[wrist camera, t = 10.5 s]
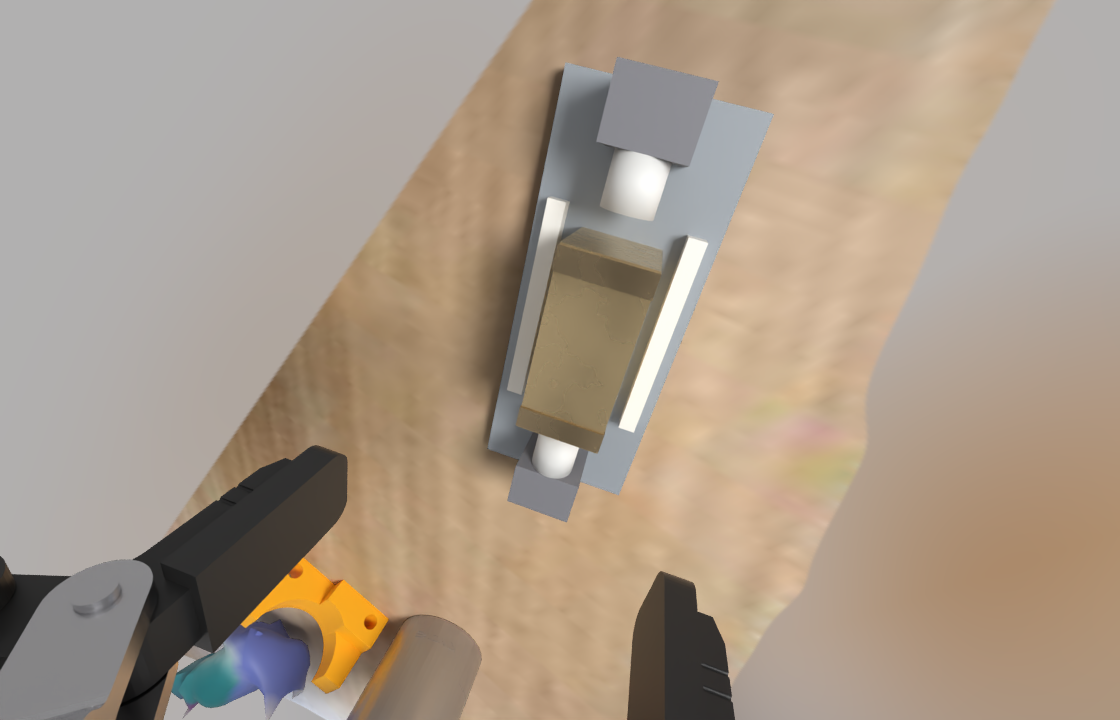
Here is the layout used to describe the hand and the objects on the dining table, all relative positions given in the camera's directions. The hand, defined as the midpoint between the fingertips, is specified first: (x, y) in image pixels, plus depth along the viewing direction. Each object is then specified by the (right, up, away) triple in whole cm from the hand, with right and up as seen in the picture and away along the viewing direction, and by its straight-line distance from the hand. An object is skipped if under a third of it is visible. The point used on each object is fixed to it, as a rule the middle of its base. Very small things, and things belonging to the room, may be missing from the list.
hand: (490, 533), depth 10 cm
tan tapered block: (+4, +6, +15) cm, 17 cm away
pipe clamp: (-22, -20, +35) cm, 46 cm away
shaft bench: (+4, +7, +16) cm, 18 cm away
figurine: (-31, -27, +40) cm, 58 cm away
